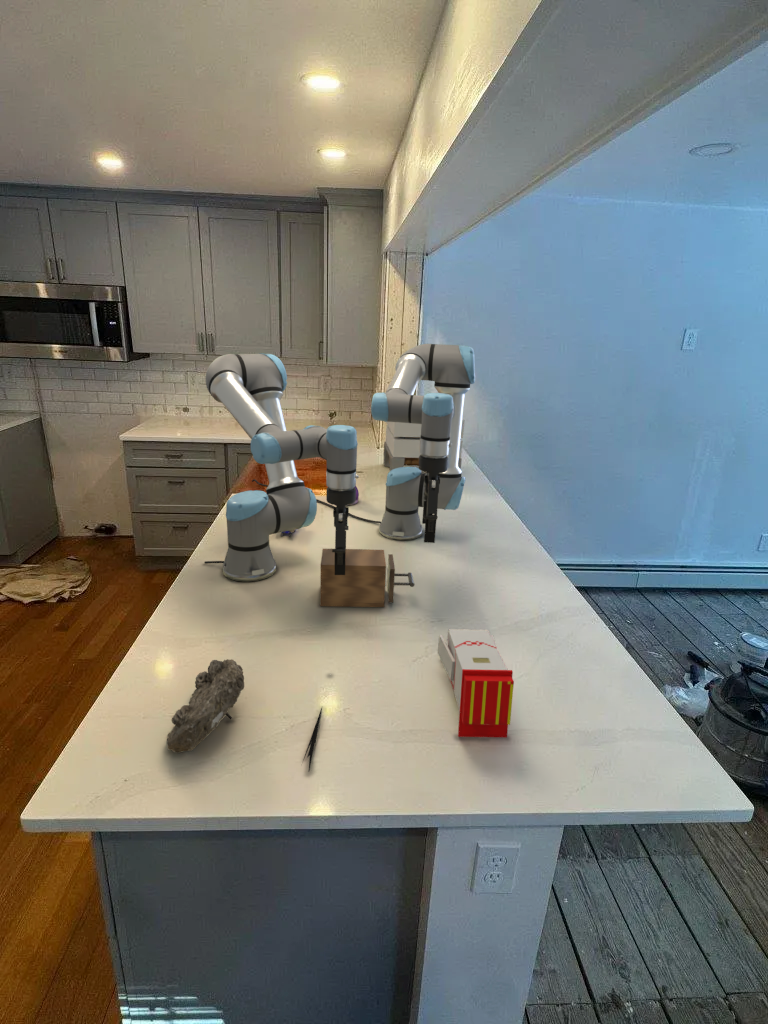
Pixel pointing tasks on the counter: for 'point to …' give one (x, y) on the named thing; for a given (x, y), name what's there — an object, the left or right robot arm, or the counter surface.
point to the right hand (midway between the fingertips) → (428, 532)
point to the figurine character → (288, 532)
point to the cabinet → (354, 579)
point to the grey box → (406, 445)
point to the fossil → (206, 705)
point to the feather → (313, 740)
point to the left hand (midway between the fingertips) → (340, 563)
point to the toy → (478, 682)
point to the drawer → (391, 576)
